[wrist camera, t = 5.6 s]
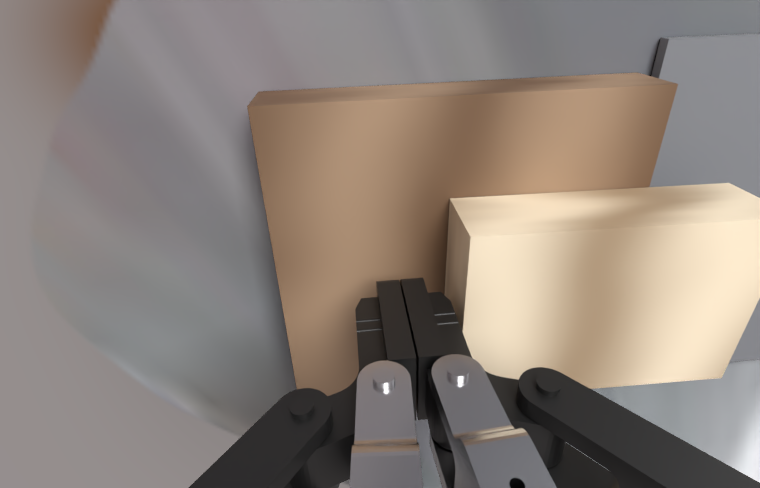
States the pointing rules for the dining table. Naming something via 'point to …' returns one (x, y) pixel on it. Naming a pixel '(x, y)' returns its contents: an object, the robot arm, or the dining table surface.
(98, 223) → the dining table surface
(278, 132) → the block
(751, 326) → the charcoal mat
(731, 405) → the dining table surface
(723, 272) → the beech tile
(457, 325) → the robot arm
